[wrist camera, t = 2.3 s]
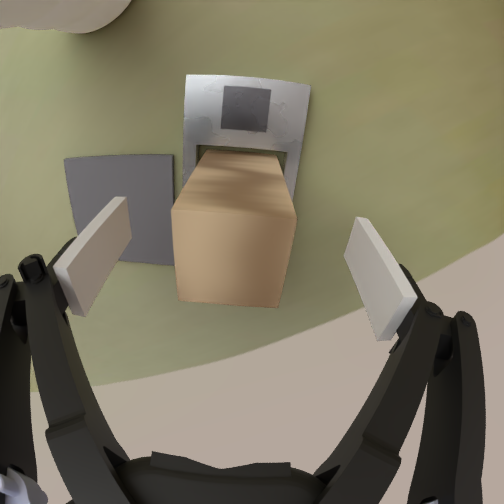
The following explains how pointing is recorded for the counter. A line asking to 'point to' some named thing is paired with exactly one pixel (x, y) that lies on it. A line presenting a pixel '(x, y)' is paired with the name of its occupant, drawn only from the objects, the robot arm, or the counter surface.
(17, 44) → the counter surface
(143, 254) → the mat
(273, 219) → the peg
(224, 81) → the plate with rectangular hole
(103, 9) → the white bottle
